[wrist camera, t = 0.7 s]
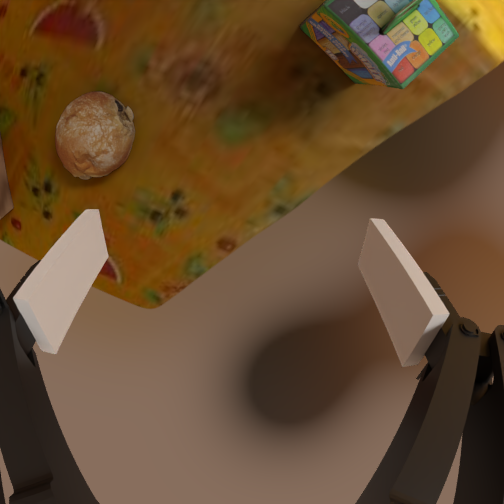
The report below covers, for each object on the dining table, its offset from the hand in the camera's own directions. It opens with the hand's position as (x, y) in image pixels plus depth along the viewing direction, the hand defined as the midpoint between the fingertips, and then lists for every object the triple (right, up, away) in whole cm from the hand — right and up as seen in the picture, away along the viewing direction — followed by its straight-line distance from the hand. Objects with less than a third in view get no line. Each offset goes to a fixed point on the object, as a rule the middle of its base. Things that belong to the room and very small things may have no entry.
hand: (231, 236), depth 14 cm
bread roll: (-17, +13, +17) cm, 28 cm away
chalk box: (+12, +23, +11) cm, 28 cm away
